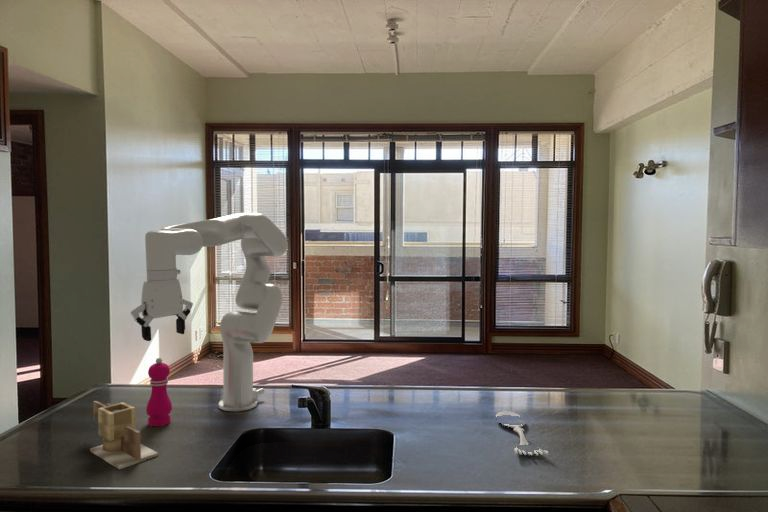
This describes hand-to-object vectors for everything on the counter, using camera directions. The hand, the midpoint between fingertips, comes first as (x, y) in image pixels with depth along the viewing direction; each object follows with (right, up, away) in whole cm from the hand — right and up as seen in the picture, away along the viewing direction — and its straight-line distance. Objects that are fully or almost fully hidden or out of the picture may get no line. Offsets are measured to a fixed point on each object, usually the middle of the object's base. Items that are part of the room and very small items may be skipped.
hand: (164, 336), depth 146 cm
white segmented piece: (+100, -31, +8) cm, 105 cm away
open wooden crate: (-14, -25, -3) cm, 29 cm away
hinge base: (-7, -30, -8) cm, 31 cm away
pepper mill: (-7, -29, +14) cm, 32 cm away
